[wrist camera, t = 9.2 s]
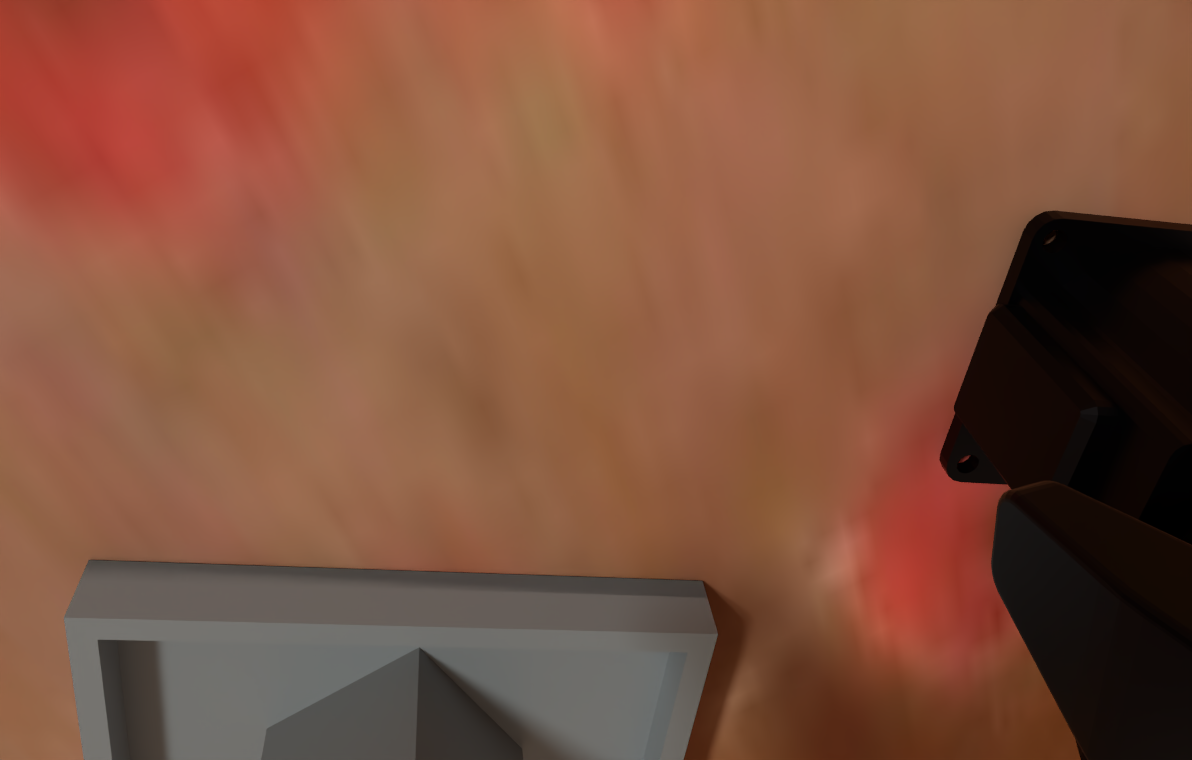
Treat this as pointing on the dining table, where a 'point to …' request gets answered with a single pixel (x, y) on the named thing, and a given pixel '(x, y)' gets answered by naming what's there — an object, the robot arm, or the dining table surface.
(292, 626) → the tray
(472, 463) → the dining table surface
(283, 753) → the grey tall block
